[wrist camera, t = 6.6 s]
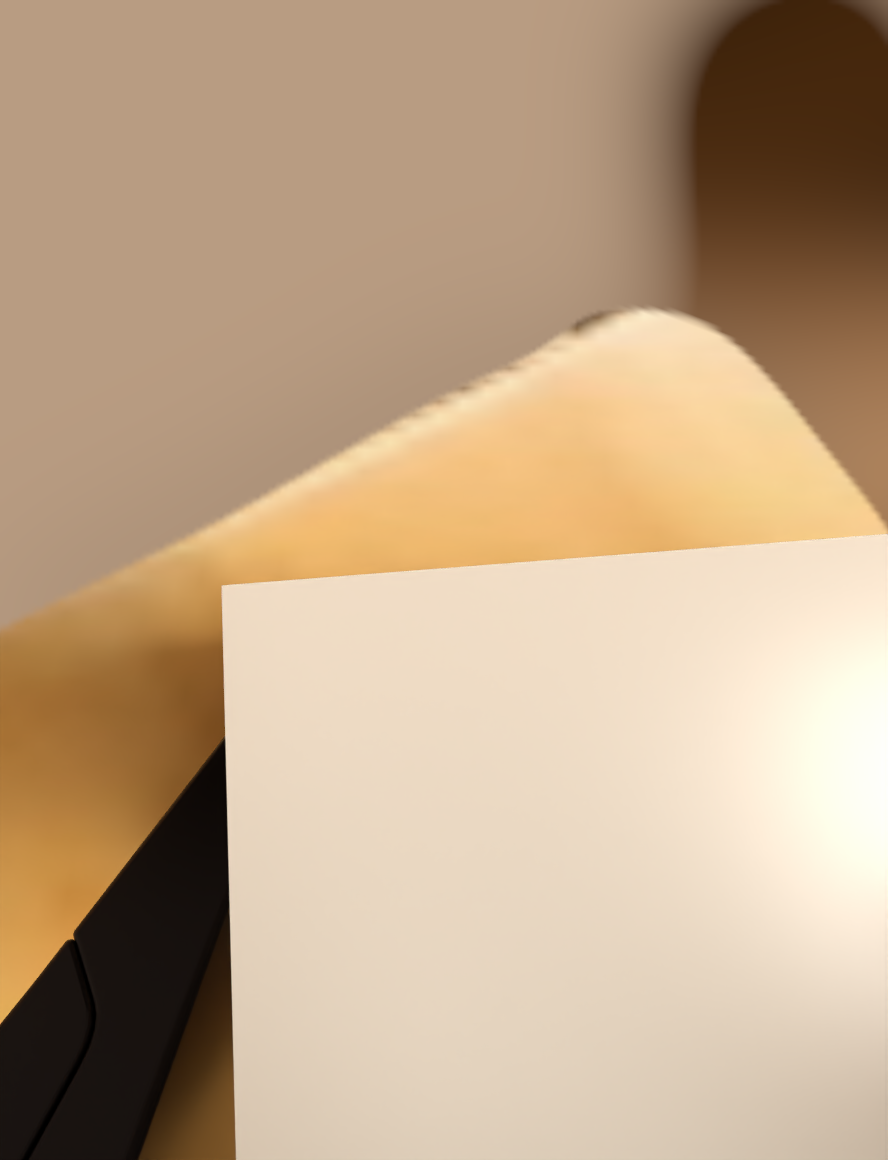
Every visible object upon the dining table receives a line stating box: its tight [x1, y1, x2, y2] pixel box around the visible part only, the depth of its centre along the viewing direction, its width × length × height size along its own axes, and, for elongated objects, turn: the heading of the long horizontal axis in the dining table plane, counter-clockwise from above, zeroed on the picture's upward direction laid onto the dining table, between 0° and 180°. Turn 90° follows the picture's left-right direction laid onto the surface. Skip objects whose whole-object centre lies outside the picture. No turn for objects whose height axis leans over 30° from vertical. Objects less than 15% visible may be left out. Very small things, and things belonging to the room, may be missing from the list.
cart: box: [222, 534, 888, 1160], centre depth 9 cm, size 5×6×12 cm
